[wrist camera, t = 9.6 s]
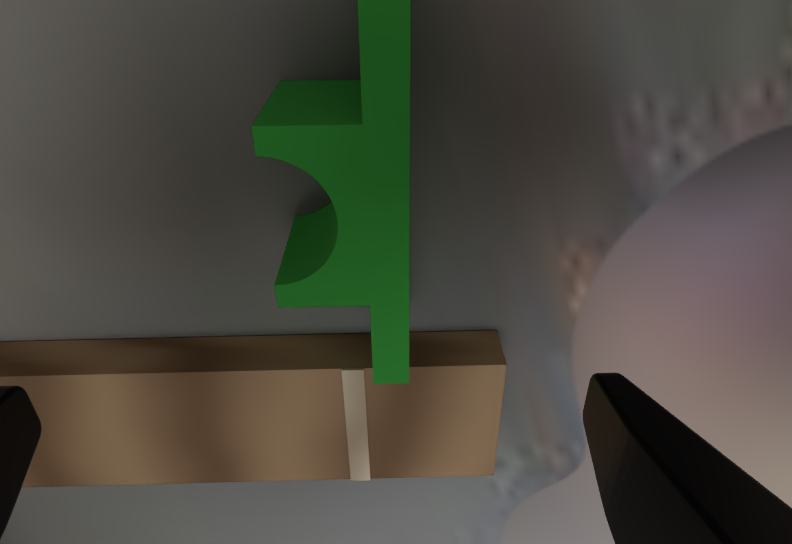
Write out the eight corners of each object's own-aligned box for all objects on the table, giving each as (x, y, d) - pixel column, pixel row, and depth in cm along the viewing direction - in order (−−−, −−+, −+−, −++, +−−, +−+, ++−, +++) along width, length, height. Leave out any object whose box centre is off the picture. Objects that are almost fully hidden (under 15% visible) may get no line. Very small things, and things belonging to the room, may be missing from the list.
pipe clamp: (267, -34, 16) (228, -20, 12) (404, -35, 16) (411, -21, 12) (305, 303, 21) (288, 388, 17) (404, 302, 21) (410, 386, 18)
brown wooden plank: (-59, 451, 25) (-93, 492, 23) (-128, 344, 22) (-173, 382, 20) (486, 437, 25) (494, 477, 23) (496, 330, 22) (507, 366, 20)
